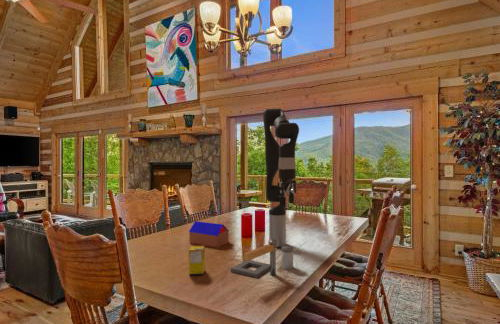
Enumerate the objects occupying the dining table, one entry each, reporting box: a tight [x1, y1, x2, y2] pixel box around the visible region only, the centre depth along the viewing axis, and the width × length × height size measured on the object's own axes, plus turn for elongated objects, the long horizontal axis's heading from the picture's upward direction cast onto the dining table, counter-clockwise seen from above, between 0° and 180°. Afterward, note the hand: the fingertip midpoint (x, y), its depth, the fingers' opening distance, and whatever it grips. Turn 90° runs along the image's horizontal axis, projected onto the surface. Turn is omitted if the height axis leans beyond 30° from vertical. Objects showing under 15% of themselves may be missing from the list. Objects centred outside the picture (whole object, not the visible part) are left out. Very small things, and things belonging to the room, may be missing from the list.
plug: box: [281, 245, 294, 270], centre depth 139 cm, size 5×5×9 cm
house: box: [188, 220, 230, 248], centre depth 180 cm, size 12×20×12 cm, turn 61°
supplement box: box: [188, 245, 206, 276], centre depth 133 cm, size 6×6×11 cm
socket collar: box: [230, 260, 270, 279], centre depth 136 cm, size 13×13×2 cm
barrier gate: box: [243, 239, 277, 276], centre depth 124 cm, size 4×19×14 cm, turn 140°
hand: (287, 204), depth 138 cm, fingers open, 8 cm apart
